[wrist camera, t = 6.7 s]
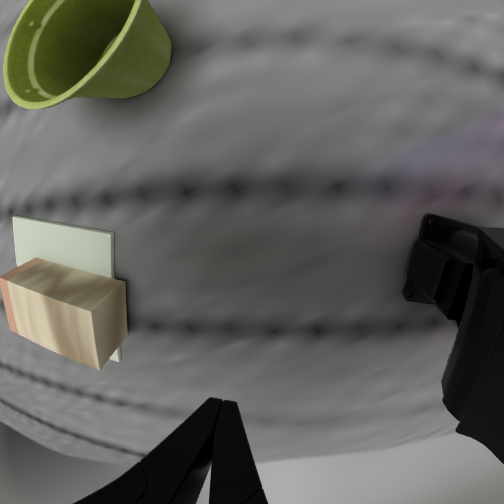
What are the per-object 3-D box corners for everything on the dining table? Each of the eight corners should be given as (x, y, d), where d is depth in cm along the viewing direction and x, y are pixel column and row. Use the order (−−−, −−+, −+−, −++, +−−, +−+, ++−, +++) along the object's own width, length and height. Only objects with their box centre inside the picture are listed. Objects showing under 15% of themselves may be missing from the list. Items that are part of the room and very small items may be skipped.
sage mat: (114, 232, 21) (110, 234, 20) (121, 359, 24) (118, 362, 24) (16, 215, 21) (12, 216, 21) (31, 324, 25) (28, 326, 25)
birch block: (91, 311, 17) (-2, 277, 17) (99, 370, 18) (10, 329, 19) (125, 281, 21) (36, 257, 22) (127, 335, 23) (42, 305, 23)
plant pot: (64, 81, 17) (-14, 65, 9) (140, -9, 15) (84, -61, 7) (131, 146, 19) (48, 146, 11) (224, 44, 16) (186, -21, 8)
